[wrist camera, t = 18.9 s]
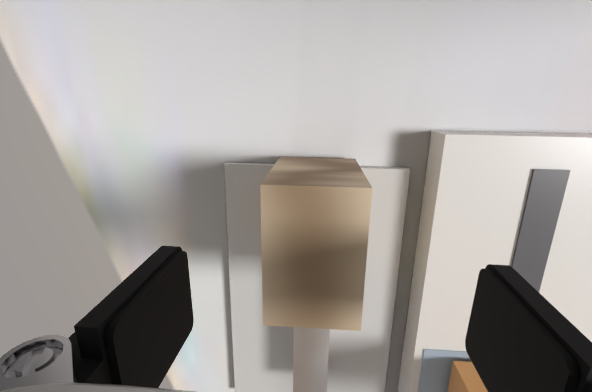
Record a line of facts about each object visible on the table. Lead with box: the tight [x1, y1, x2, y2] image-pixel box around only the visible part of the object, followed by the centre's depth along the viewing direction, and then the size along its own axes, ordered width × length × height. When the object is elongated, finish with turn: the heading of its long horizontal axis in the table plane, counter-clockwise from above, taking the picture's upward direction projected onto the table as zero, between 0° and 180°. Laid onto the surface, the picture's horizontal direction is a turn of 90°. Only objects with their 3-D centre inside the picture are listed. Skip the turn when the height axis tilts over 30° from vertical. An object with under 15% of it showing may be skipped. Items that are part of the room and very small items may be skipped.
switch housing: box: [397, 131, 592, 392], centre depth 18 cm, size 10×18×2 cm, turn 179°
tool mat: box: [224, 162, 410, 392], centre depth 20 cm, size 10×16×1 cm, turn 179°
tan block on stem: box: [260, 157, 372, 392], centre depth 17 cm, size 4×14×6 cm, turn 179°
